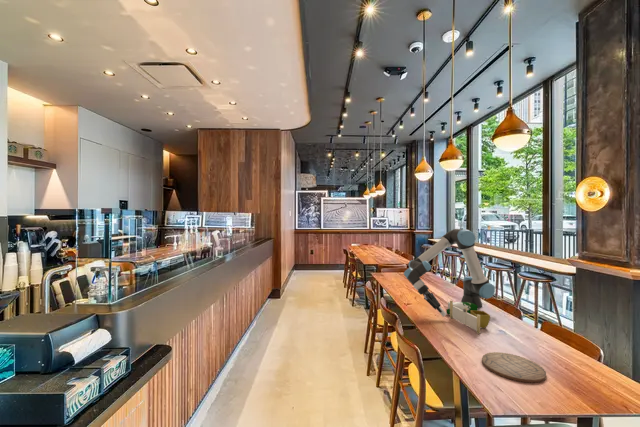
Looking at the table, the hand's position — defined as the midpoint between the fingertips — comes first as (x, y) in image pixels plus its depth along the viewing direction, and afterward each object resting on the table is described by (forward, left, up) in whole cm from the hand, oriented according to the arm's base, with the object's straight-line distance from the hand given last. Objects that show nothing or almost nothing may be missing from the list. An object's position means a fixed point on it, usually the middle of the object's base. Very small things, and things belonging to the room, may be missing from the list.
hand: (445, 315), depth 198 cm
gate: (-5, +7, -2) cm, 9 cm away
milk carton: (-29, +3, +1) cm, 29 cm away
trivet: (+25, +57, -4) cm, 63 cm away
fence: (-4, +12, -3) cm, 13 cm away
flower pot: (-11, +18, -3) cm, 21 cm away
